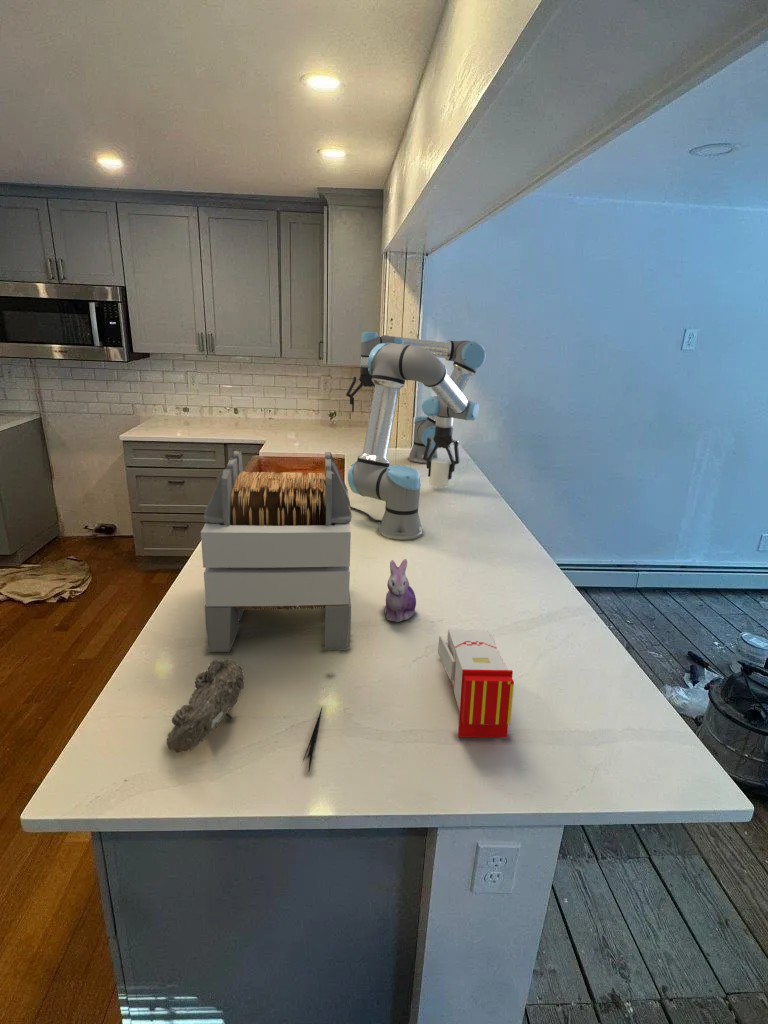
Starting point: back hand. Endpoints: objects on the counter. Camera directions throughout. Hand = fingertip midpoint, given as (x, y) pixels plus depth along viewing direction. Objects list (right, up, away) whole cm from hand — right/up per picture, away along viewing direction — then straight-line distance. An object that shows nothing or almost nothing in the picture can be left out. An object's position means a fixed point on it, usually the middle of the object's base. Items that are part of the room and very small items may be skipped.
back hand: (367, 411), depth 272 cm
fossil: (-25, -87, -164) cm, 188 cm away
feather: (-4, -88, -164) cm, 186 cm away
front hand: (+33, -33, -23) cm, 52 cm away
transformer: (-17, -74, -128) cm, 149 cm away
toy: (+26, -86, -154) cm, 178 cm away
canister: (+33, -36, -22) cm, 53 cm away
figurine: (+12, -75, -125) cm, 146 cm away
